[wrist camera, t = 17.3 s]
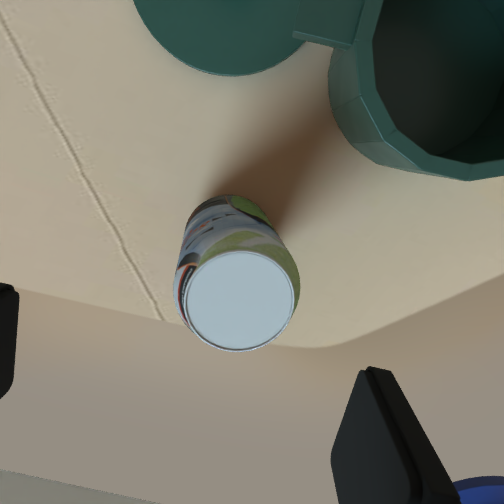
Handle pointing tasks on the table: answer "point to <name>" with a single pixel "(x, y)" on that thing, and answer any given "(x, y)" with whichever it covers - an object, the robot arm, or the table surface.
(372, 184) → the table surface
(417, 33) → the pot
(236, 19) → the lid
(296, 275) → the beverage can
